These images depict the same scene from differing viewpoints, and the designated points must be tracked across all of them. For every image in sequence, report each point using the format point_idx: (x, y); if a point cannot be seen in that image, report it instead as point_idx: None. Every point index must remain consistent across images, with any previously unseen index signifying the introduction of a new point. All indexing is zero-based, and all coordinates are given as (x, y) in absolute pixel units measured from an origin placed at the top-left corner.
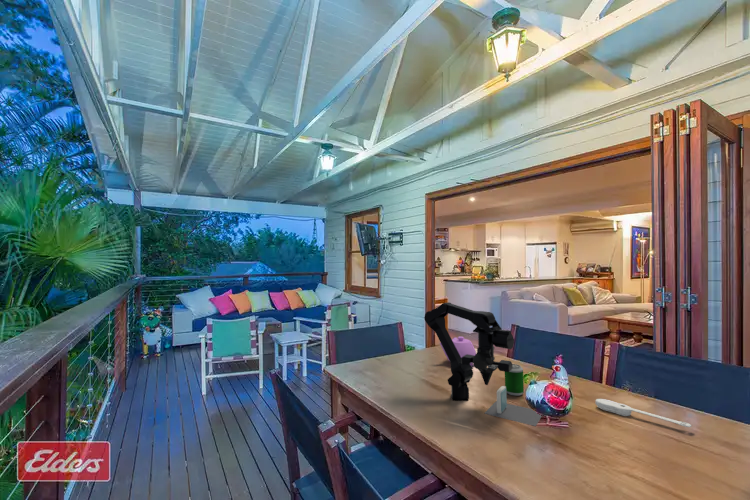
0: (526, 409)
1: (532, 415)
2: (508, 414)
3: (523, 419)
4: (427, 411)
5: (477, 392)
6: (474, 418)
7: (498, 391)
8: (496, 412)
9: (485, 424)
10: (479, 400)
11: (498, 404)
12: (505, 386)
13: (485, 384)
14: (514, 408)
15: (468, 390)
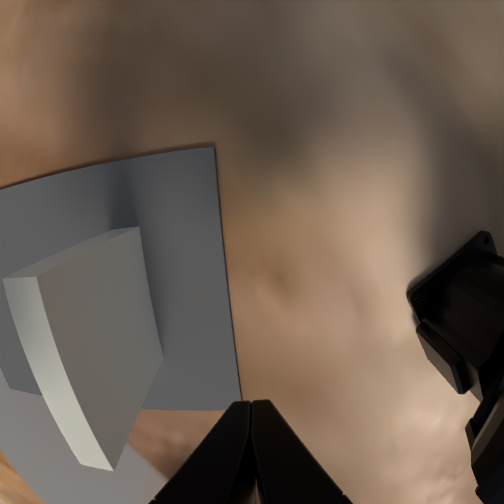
0: None
1: (5, 321)
2: None
3: (3, 240)
4: (492, 21)
5: (386, 443)
6: (244, 43)
7: (19, 281)
8: (144, 227)
9: (146, 21)
10: (347, 365)
11: (98, 240)
12: (82, 462)
13: (261, 400)
14: None
15: (445, 355)
